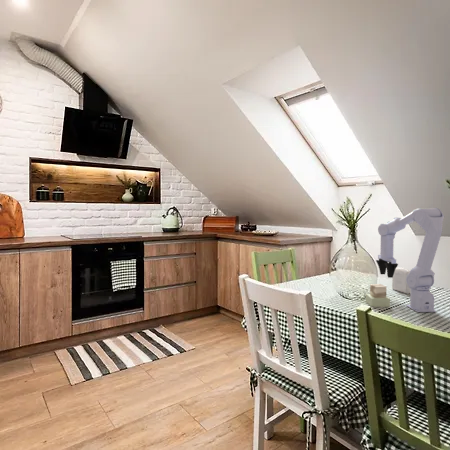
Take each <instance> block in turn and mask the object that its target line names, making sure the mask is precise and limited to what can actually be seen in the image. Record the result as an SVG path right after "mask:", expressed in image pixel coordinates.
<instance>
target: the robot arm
mask: <svg viewBox="0 0 450 450" xmlns="http://www.w3.org/2000/svg"><path fill="white" fill-rule="evenodd" d="M444 218H445V215H444V213H443V211H442V210H441V208H439V207H431V208H428V207H427V208H421V207H419V208H418V207H417V208H416V209H413V210H412V211H411V212H410V213H408V214H407V215H405V216H403V217H397V216H396V217H394V218H393V220H391V221H387V223H380V225H379V226H378V227H377V231H378V235H380V254H378V255H377V259H376V260H375V262H376V263H377V265H378V269H379V274H380V275H386V277H387V278H390V279H391V278H393V275H394V272H395V269H396V268H398V266H399V263H397V259H396V258H395V257H394V241H395V240H394V239H395V237H396V234H397V232H400V231H402V230H404V229H405V228H406V225H409V224H412V223H414V222H416V223H417V225H418V226H420V228H421V229H422V230H424V232H425V234H424V238H423V241H422V244H421V248H420V251H419V255H418V258H417V262H416V266H414V267H413V268H411V269H410V270H409V271H410V273H409V274H408V276H407V278H406V282H407V284H408V286H409V288H411V293H409V294H410V298H409V299H410V301H409V303H410V304H405V306H406V307H408V308H409V309H411V310H413V311H415V312H416V313H436V312H437V311H436V309H435V297H434V294H433V293H432V292H431V291H430V290H431V289H432V287H433V286H434V284H435V272H434V271H433V270H432V266H433V262H434V259H435V256H436V253H437V250H438V247H439V243H440V241H441V237H442V234H443V221H444V220H445V219H444Z"/></svg>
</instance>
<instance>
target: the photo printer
mask: <svg viewBox="0 0 450 450" xmlns="http://www.w3.org/2000/svg"><path fill="white" fill-rule="evenodd" d="M409 273H410V270H409V269H407V268H405V267H402V266H401V267H400V266H399V267H396V269H395V272H394V275H393V278H392V279H391V280H392V282H391V289H392V290H395V291H398V292H401V293H404V294H411V288H409V286H408V284H407V282H406V278H407V276H408V274H409Z"/></svg>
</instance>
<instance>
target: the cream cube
mask: <svg viewBox="0 0 450 450" xmlns="http://www.w3.org/2000/svg"><path fill="white" fill-rule="evenodd" d="M369 294H370V295H371V296H373V297H375V298H385V297H386V296H387V286H386V285H384V284H381V283H376V284H375V283H372V284H371V283H370V284H369Z"/></svg>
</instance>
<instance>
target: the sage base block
mask: <svg viewBox="0 0 450 450" xmlns="http://www.w3.org/2000/svg"><path fill="white" fill-rule="evenodd" d="M365 303H366V304H368V306H370V307H371V308H372V307H375V308H377V307H379V308H380V307H382V308H384V307H385V308H386V307H387V308H388V307H389V308H391V298H390V297H388V296H387V295H386V297H385V298H375V297H373V296H371V295H370V293H365Z"/></svg>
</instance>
